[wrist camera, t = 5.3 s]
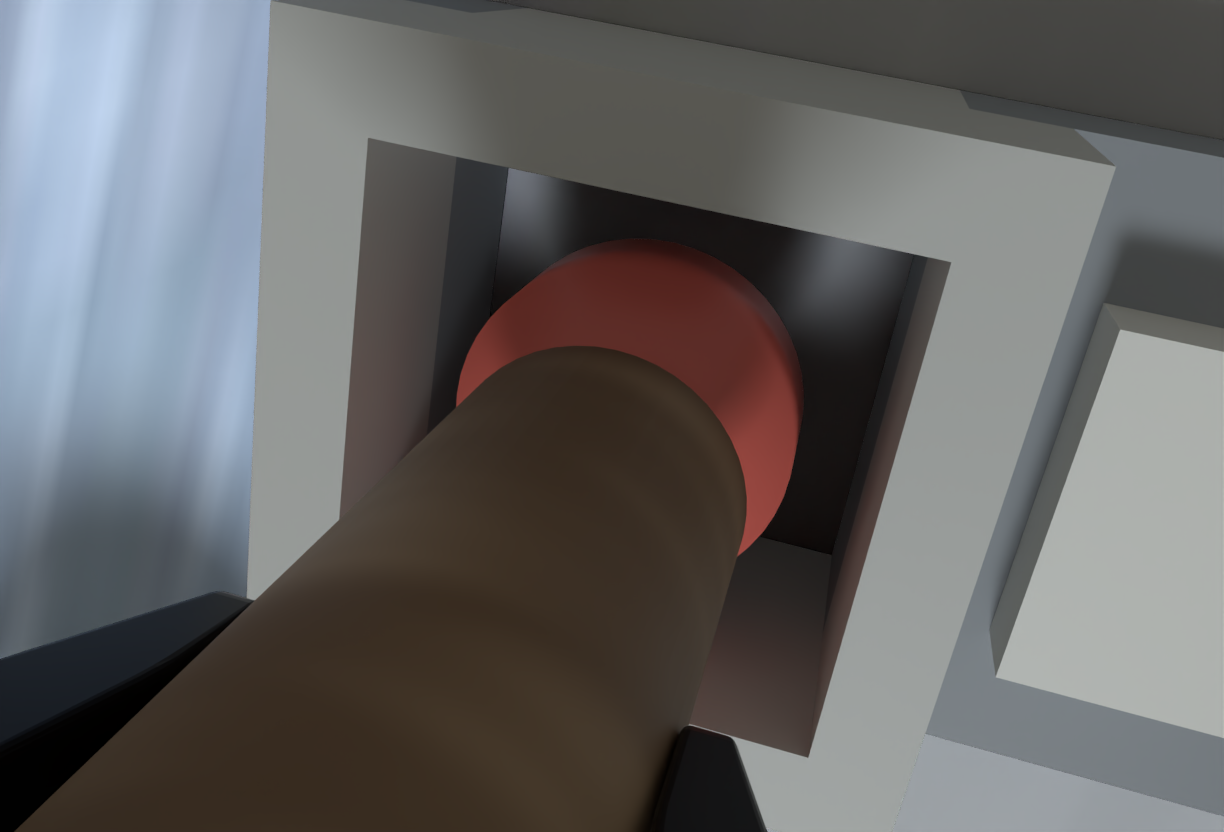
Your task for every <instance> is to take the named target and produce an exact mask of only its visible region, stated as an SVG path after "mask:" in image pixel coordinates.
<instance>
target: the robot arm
mask: <svg viewBox="0 0 1224 832" xmlns="http://www.w3.org/2000/svg"><path fill="white" fill-rule="evenodd" d="M254 601H255V600H252V599H248V598H245V597H242V596H238V595H235V594H231V593H228V592H223V591H216V592H212V593H208V594H205V595H202V596H199V597H195V598H192V599H189V600H186V601H183V602H180V603H176V604H173V605H170V606H167V607H164V608H161V609H157V610H154V611H151V612H148V613H145V614H141V615H138V616H135V617H132V618H129V619H126V620H122V621H119V622H116V623H113V624H110V625H107V626H103V627H100V628H97V629H94V630H91V631H87V632H84V633H81V634H78V635H75V636H72V637H68V638H65V639H62V640H59V641H56V642H52V643H49V644H46V645H43V646H40V647H37V648H33V649H30V650H27V651H24V652H21V653H17V654H14V655H11V656H8V657H5V658H1V659H0V832H14V831H15V830H16V829H17V828H18V827H19V826H20V825H22V824H23V823H24V822H25V821H26V820H27V819H28V818H29V817H30V816H31V815H32V814H33V813H34V812H35V811H36V810H37V809H38V808H39V807H40V806H41V805H42V804H43V803H44V802H45V801H47V800H48V799H49V798H50V797H51V796H52V795H53V794H54V793H55V792H56V791H57V790H58V789H59V788H60V787H61V786H62V785H63V784H64V783H65V782H66V781H67V780H68V779H69V778H71V777H72V776H73V775H74V774H75V773H76V772H77V771H78V770H79V769H80V768H81V767H82V766H83V765H84V764H85V763H86V762H87V761H88V760H89V759H90V758H91V757H92V756H93V755H94V754H96V753H97V752H98V751H99V750H100V749H101V748H102V747H103V746H104V745H105V744H106V743H107V742H108V741H109V740H110V739H111V738H112V737H113V736H114V735H115V734H116V733H117V732H118V731H119V730H121V729H122V728H123V727H124V726H125V725H126V724H127V723H128V722H129V721H130V720H131V719H132V718H133V717H134V716H135V715H136V714H137V713H138V712H139V711H140V710H141V709H142V708H143V707H144V706H146V705H147V704H148V703H149V702H150V701H151V700H152V699H153V698H154V697H155V696H156V695H157V694H158V693H159V692H160V691H161V690H162V689H163V688H164V687H165V686H166V685H167V684H168V683H169V682H171V681H172V680H173V679H174V678H175V677H176V676H177V675H178V674H179V673H180V672H181V671H182V670H183V669H184V668H185V667H186V666H187V665H188V664H189V663H190V662H191V661H192V660H193V659H194V658H196V657H197V656H198V655H199V654H200V653H201V652H202V651H203V650H204V649H205V648H206V647H207V646H208V645H209V644H210V643H211V642H212V641H213V640H214V639H215V638H216V637H217V636H218V635H219V634H221V633H222V632H223V631H224V630H225V629H226V628H227V627H228V626H229V625H230V624H231V623H232V622H233V621H234V620H235V619H236V618H237V617H238V616H239V615H240V614H241V613H242V612H243V611H244V610H246V609H247V608H248V607H249V606H250V605H251V604H252V603H253V602H254ZM650 832H767V829H766V826H765V824H764V821H763V818H762V815H761V812H760V809H759V807H758V804H757V801H756V798H755V795H754V792H753V790H752V787H751V784H750V781H749V778H748V775H747V773H746V770H745V767H744V764H743V761H742V758H741V756H740V753H739V750H738V747H737V745H736V743H735V741H734V740H733V739H732V738H731V737H729V736H727V735H723V734H720V733H716V732H713V731H709V730H706V729H702V728H699V727H695V726H691V725H688V726H685V727H684V728H683V729H682V730H681V731H680V734H679V737H678V740H677V743H676V746H675V749H674V752H673V755H672V759H671V762H670V765H669V768H668V771H667V774H666V777H665V781H664V784H663V787H662V790H661V793H660V796H659V799H658V803H657V806H656V809H655V813H654V817H653V821H652V825H651V829H650Z"/></svg>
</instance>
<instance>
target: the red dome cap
mask: <svg viewBox="0 0 1224 832" xmlns="http://www.w3.org/2000/svg"><path fill="white" fill-rule="evenodd" d="M564 346H596V347H602V348H607V349H613V350H618V351H621V352H625V353H628V354H631V355H634V356H637V357H640V358H642V359H644V360H646V361H649V362H651V363H653V364H655V365H657V366H659V367H661V368H662V369H664V370H666V371H667V372H669V373H671V374H672V375H674V376H676V377H677V378H678V379H679V380H681V381H682V382H683V383H685V384H686V385H687V386H688V387H690V388H691V389H692V390H693V391H694V392H695V393H696V394H697V395H698V396H699V397H700V398H701V399H702V400H703V401H704V402H705V403H706V404H707V405H708V406H709V407H710V409H711V410H712V411H713V413H714V414H715V415H716V416H717V418H718V419H719V420H720V422H721V423H722V425H723V427H724V428H725V430H726V432H727V433H728V435H729V437H730V439H731V441H732V443H733V445H734V448H735V450H736V452H737V455H738V457H739V460H740V464H741V467H742V471H743V475H744V479H745V487H746V495H747V516H746V522H745V528H744V534H743V538H742V541H741V545H740V548H739V552H738V555H737V556H739V555H740V554H741V553H742V552H744V551H745V550H746V549H747V548H749V547H750V545H751V544H752V543H753V542H754V541H755V540H756V539H757V538H758V537H759V536H760V535H761V534H762V533H763V531H764V530H765V528H766V527H767V526H768V524H769V523H770V521H771V520H772V518H773V517H774V515H775V513H776V511H777V509H778V507H779V505H780V503H781V501H782V499H783V497H784V495H785V492H786V489H787V486H788V482H789V479H790V476H791V471H792V467H793V462H794V458H795V453H796V448H797V444H798V439H799V435H800V429H801V424H802V418H803V407H804V389H803V380H802V372H801V368H800V364H799V360H798V356H797V352H796V350H795V348H794V345H793V343H792V340H791V338H790V335H789V333H788V331H787V329H786V327H785V326H784V324H783V322H782V320H781V319H780V317H779V315H778V314H777V312H776V311H775V310H774V308H773V307H772V306H771V304H770V303H769V302H768V300H767V299H766V298H765V297H764V296H763V295H762V294H761V293H760V292H759V291H758V290H757V289H756V288H755V287H754V286H753V285H752V283H751V282H749V281H748V280H747V279H746V278H744V277H743V276H742V275H741V274H739V273H738V272H737V271H735V270H734V269H733V268H731V267H730V266H728V265H726V264H725V263H723V262H721V261H720V260H718V259H716V258H715V257H713V256H710V255H708V254H706V253H703V252H701V251H699V250H696V249H694V248H691V247H688V246H684V245H681V244H677V243H674V242H668V241H662V240H655V239H621V240H612V241H606V242H603V243H599V244H595V245H591V246H588V247H585V248H583V249H580V250H578V251H575V252H573V253H570V254H569V255H567V256H565V257H563V258H562V259H560V260H558V261H557V262H555V263H553V264H552V265H551V266H549V267H548V268H547V269H545V270H544V271H543V272H542V273H540V274H539V275H538V276H537V277H535V278H534V279H533V280H532V281H531V282H529V283H528V284H527V285H526V286H525V287H523V288H522V289H521V290H520V291H519V292H517V293H516V294H515V295H514V296H513V297H511V298H510V299H509V300H508V301H507V302H505V303H504V304H503V305H502V306H501V307H500V308H499V309H498V310H497V311H496V312H495V313H494V314H493V315H492V316H491V318H490V319H489V320H488V321H487V322H486V324H485V325H484V327H483V328H482V329H481V331H480V332H479V334H478V335H477V337H476V338H475V340H474V342H473V344H472V346H471V348H470V350H469V352H468V354H467V357H466V360H465V363H464V366H463V369H462V372H461V375H460V380H459V385H458V391H457V400H456V407H457V406H458V405H459V404H460V403H461V402H462V401H463V400H464V399H465V398H466V397H467V396H469V395H470V394H471V393H472V392H473V391H474V390H475V389H476V388H477V387H478V386H479V385H480V384H481V383H482V382H483V381H484V380H485V379H486V378H488V377H489V376H490V375H492V374H493V373H494V372H496V371H497V370H498V369H500V368H501V367H503V366H505V365H506V364H508V363H510V362H512V361H514V360H515V359H517V358H520V357H523V356H525V355H528V354H531V353H533V352H536V351H541V350H545V349H550V348H554V347H564Z"/></svg>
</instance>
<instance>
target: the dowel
mask: <svg viewBox="0 0 1224 832" xmlns="http://www.w3.org/2000/svg"><path fill="white" fill-rule="evenodd" d="M746 516H747V495H746V487H745V479H744V475H743V471H742V467H741V464H740V460H739V457H738V455H737V452H736V450H735V448H734V445H733V443H732V441H731V439H730V437H729V435H728V433H727V432H726V430H725V428H724V427H723V425H722V423H721V422H720V420H719V419H718V418H717V416H716V415H715V414H714V413H713V411H712V410H711V409H710V407H709V406H708V405H707V404H706V403H705V402H704V401H703V400H702V399H701V398H700V397H699V396H698V395H697V394H696V393H695V392H694V391H693V390H692V389H691V388H690V387H688V386H687V385H686V384H685V383H683V382H682V381H681V380H679V379H678V378H677V377H676V376H674V375H672V374H671V373H669V372H667V371H666V370H664V369H662V368H661V367H659V366H657V365H655V364H653V363H651V362H649V361H646V360H644V359H642V358H640V357H637V356H634V355H631V354H628V353H625V352H621V351H618V350H613V349H607V348H602V347H596V346H564V347H554V348H550V349H545V350H541V351H536V352H533V353H531V354H528V355H525V356H523V357H520V358H517V359H515V360H514V361H512V362H510V363H508V364H506V365H505V366H503V367H501V368H500V369H498V370H497V371H496V372H494V373H493V374H492V375H490V376H489V377H488V378H486V379H485V380H484V381H483V382H482V383H481V384H480V385H479V386H478V387H477V388H476V389H475V390H474V391H473V392H472V393H471V394H470V395H469V396H467V397H466V398H465V399H464V400H463V401H462V402H461V403H460V404H459V405H458V406H457V407H456V408H455V409H454V410H453V411H452V412H451V413H450V414H449V415H448V416H447V417H446V418H445V419H444V420H442V421H441V422H440V423H439V424H438V425H437V426H436V427H435V428H434V429H433V430H432V431H431V432H430V433H429V434H428V435H427V436H426V437H425V438H424V439H423V440H422V441H421V442H420V443H418V444H417V445H416V446H415V447H414V448H413V449H412V450H411V451H410V452H409V453H408V454H407V455H406V456H405V457H404V458H403V459H402V460H401V461H400V462H399V463H398V464H397V465H396V466H395V467H393V468H392V469H391V470H390V471H389V472H388V473H387V474H386V475H385V476H384V477H383V478H382V479H381V480H380V481H379V482H378V483H377V484H376V485H375V486H374V487H373V488H372V489H371V490H370V491H368V492H367V493H366V494H365V495H364V496H363V497H362V498H361V499H360V500H359V501H358V502H357V503H356V504H355V505H354V506H353V507H352V508H351V509H350V510H349V511H348V512H347V513H346V514H345V515H343V516H342V517H341V518H340V519H339V520H338V521H337V522H336V523H335V524H334V525H333V526H332V527H331V528H330V529H329V530H328V531H327V532H326V533H325V534H324V535H323V536H322V537H321V538H320V539H318V540H317V541H316V542H315V543H314V544H313V545H312V546H311V547H310V548H309V549H308V550H307V551H306V552H305V553H304V554H303V555H302V556H301V557H300V558H299V559H298V560H297V561H296V562H295V563H293V564H292V565H291V566H290V567H289V568H288V569H287V570H286V571H285V572H284V573H283V574H282V575H281V576H280V577H279V578H278V579H277V580H276V581H275V582H274V583H273V584H272V585H271V586H270V587H268V588H267V589H266V590H265V591H264V592H263V593H262V594H261V595H260V596H259V597H258V598H257V599H256V600H255V601H254V602H253V603H252V604H251V605H250V606H249V607H248V608H247V609H246V610H244V611H243V612H242V613H241V614H240V615H239V616H238V617H237V618H236V619H235V620H234V621H233V622H232V623H231V624H230V625H229V626H228V627H227V628H226V629H225V630H224V631H223V632H222V633H221V634H219V635H218V636H217V637H216V638H215V639H214V640H213V641H212V642H211V643H210V644H209V645H208V646H207V647H206V648H205V649H204V650H203V651H202V652H201V653H200V654H199V655H198V656H197V657H196V658H194V659H193V660H192V661H191V662H190V663H189V664H188V665H187V666H186V667H185V668H184V669H183V670H182V671H181V672H180V673H179V674H178V675H177V676H176V677H175V678H174V679H173V680H172V681H171V682H169V683H168V684H167V685H166V686H165V687H164V688H163V689H162V690H161V691H160V692H159V693H158V694H157V695H156V696H155V697H154V698H153V699H152V700H151V701H150V702H149V703H148V704H147V705H146V706H144V707H143V708H142V709H141V710H140V711H139V712H138V713H137V714H136V715H135V716H134V717H133V718H132V719H131V720H130V721H129V722H128V723H127V724H126V725H125V726H124V727H123V728H122V729H121V730H119V731H118V732H117V733H116V734H115V735H114V736H113V737H112V738H111V739H110V740H109V741H108V742H107V743H106V744H105V745H104V746H103V747H102V748H101V749H100V750H99V751H98V752H97V753H96V754H94V755H93V756H92V757H91V758H90V759H89V760H88V761H87V762H86V763H85V764H84V765H83V766H82V767H81V768H80V769H79V770H78V771H77V772H76V773H75V774H74V775H73V776H72V777H71V778H69V779H68V780H67V781H66V782H65V783H64V784H63V785H62V786H61V787H60V788H59V789H58V790H57V791H56V792H55V793H54V794H53V795H52V796H51V797H50V798H49V799H48V800H47V801H45V802H44V803H43V804H42V805H41V806H40V807H39V808H38V809H37V810H36V811H35V812H34V813H33V814H32V815H31V816H30V817H29V818H28V819H27V820H26V821H25V822H24V823H23V824H22V825H20V826H19V827H18V828H17V829H16V830H15V831H14V832H650V829H651V825H652V821H653V817H654V813H655V809H656V806H657V803H658V799H659V796H660V793H661V790H662V787H663V784H664V781H665V777H666V774H667V771H668V768H669V765H670V762H671V759H672V755H673V752H674V749H675V746H676V743H677V740H678V737H679V734H680V731H681V730H682V729H683V728H684V727H685V726H688V725H689V722H690V719H691V715H692V712H693V709H694V705H695V702H696V698H697V695H698V691H699V688H700V684H701V681H702V677H703V674H704V670H705V667H706V663H707V660H708V656H709V653H710V649H711V646H712V642H713V639H714V635H715V632H716V628H717V625H718V622H719V618H720V615H721V611H722V608H723V604H724V601H725V597H726V594H727V590H728V587H729V583H730V580H731V576H732V573H733V569H734V566H735V562H736V559H737V555H738V552H739V548H740V545H741V541H742V538H743V534H744V528H745V522H746Z"/></svg>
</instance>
